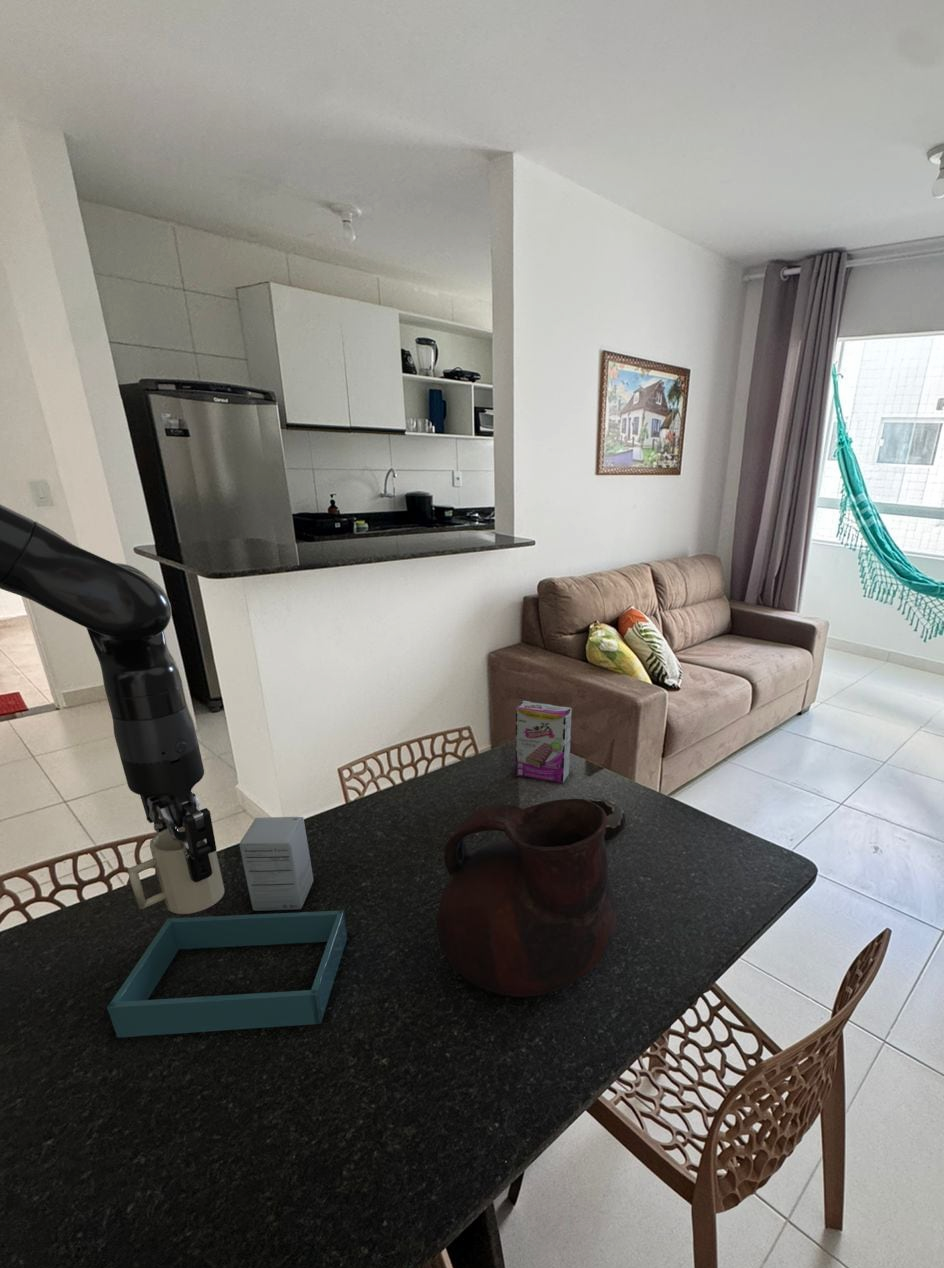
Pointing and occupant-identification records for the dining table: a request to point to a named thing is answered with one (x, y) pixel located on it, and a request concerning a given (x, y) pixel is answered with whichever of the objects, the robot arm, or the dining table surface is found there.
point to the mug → (177, 878)
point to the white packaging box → (277, 863)
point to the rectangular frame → (228, 1011)
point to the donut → (611, 816)
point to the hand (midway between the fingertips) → (188, 866)
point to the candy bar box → (543, 741)
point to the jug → (528, 897)
